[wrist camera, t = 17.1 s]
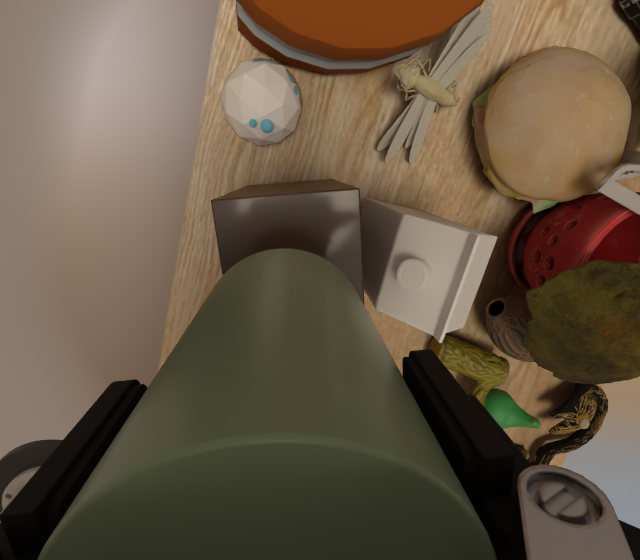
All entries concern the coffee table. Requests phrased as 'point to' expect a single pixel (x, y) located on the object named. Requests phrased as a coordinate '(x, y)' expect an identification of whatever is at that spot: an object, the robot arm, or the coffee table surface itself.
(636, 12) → the firearm
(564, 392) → the coffee table surface
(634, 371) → the pottery fragment
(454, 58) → the toy
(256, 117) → the ornament
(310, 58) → the orange rounded case
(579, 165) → the burger
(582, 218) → the red colander
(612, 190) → the skate ramp
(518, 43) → the coffee table surface
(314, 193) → the plinth
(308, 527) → the tin
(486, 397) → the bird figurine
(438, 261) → the milk carton
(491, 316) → the vase
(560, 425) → the rubber snake
